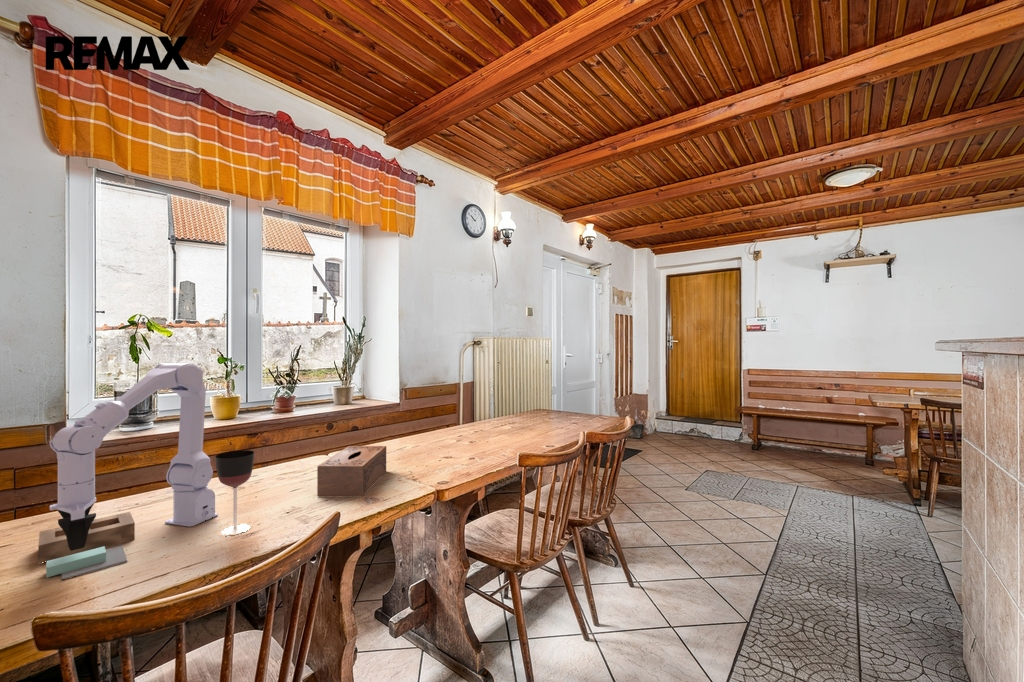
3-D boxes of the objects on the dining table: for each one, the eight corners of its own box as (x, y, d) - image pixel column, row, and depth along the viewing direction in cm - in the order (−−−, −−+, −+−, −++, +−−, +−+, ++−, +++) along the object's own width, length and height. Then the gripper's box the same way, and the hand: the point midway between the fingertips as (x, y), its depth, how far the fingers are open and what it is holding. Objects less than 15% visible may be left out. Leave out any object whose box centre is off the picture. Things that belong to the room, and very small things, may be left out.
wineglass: (226, 523, 114) (226, 450, 114) (260, 522, 115) (260, 449, 115) (208, 537, 106) (208, 458, 106) (244, 536, 107) (244, 458, 107)
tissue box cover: (348, 472, 160) (348, 446, 160) (386, 472, 160) (386, 446, 160) (317, 497, 134) (317, 466, 134) (362, 497, 134) (362, 466, 134)
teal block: (104, 554, 97) (104, 546, 97) (106, 561, 94) (106, 552, 94) (46, 570, 90) (46, 561, 90) (46, 577, 87) (46, 568, 87)
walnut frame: (129, 527, 112) (129, 511, 112) (134, 539, 105) (134, 522, 105) (39, 549, 100) (39, 531, 100) (38, 564, 93) (38, 545, 93)
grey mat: (122, 547, 101) (122, 545, 101) (127, 561, 94) (127, 560, 94) (61, 563, 94) (61, 561, 94) (61, 580, 87) (61, 578, 87)
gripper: (50, 478, 94) (50, 538, 94) (49, 494, 84) (49, 561, 84) (94, 470, 99) (94, 528, 99) (98, 485, 89) (98, 548, 89)
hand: (76, 542), depth 92 cm, fingers open, 7 cm apart
